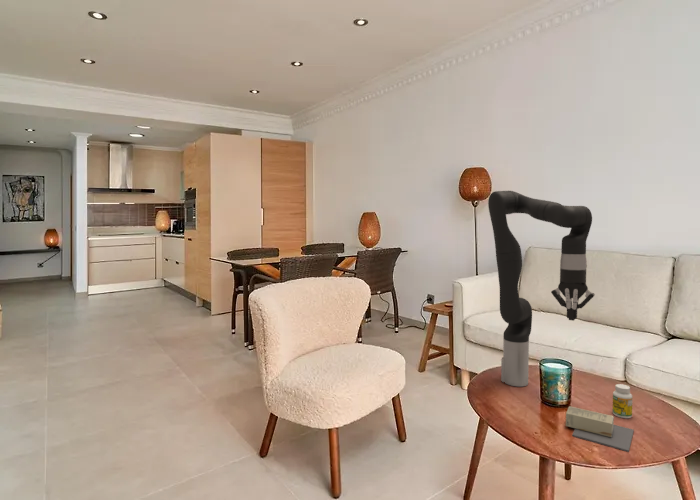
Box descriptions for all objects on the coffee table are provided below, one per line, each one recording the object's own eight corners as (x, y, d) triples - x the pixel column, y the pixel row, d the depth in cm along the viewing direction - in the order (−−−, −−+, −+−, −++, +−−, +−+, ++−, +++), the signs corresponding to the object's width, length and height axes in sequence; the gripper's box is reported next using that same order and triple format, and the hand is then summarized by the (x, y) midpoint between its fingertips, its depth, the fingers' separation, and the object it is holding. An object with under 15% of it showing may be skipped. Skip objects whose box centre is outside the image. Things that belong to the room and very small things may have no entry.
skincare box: (564, 426, 129) (611, 438, 121) (565, 412, 128) (612, 424, 121) (568, 418, 134) (613, 429, 126) (569, 405, 133) (614, 415, 126)
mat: (572, 436, 124) (572, 434, 124) (581, 417, 135) (581, 416, 135) (628, 452, 115) (628, 450, 115) (633, 431, 126) (633, 429, 126)
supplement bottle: (635, 416, 135) (636, 387, 134) (625, 420, 133) (626, 391, 132) (618, 409, 140) (619, 381, 139) (608, 413, 138) (609, 384, 137)
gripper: (548, 267, 137) (547, 319, 138) (594, 270, 129) (592, 325, 130) (553, 265, 143) (552, 315, 144) (598, 267, 135) (596, 320, 136)
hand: (571, 319), depth 137 cm, fingers closed
